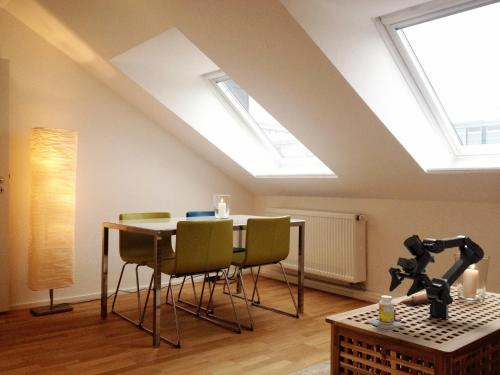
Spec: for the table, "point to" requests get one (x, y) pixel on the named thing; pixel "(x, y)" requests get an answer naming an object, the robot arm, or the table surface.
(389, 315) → the supplement bottle
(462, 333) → the table surface
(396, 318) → the brown wooden block
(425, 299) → the sunglasses case
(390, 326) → the slate grey mat
